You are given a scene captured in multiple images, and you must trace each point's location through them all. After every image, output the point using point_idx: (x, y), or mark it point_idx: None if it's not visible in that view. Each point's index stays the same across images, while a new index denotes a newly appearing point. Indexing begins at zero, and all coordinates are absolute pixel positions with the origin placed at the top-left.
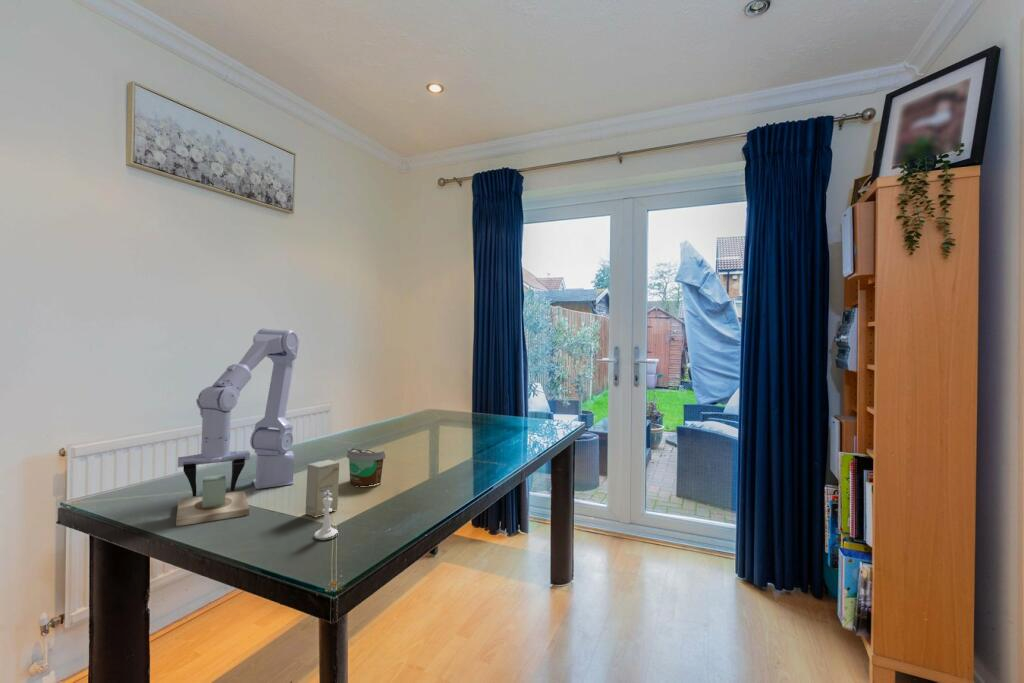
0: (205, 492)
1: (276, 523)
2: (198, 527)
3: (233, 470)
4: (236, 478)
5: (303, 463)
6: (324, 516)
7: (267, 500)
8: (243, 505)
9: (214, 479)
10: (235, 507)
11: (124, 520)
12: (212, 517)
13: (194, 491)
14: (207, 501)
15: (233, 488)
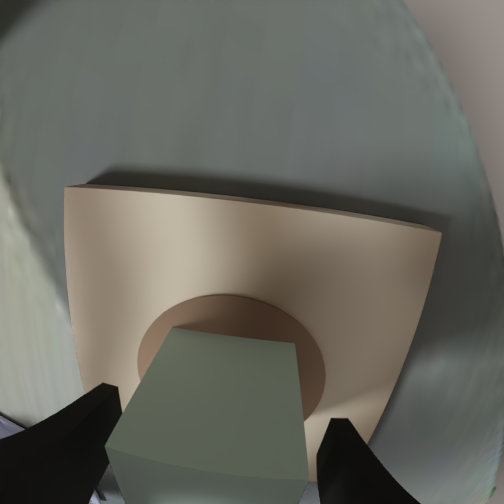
0: (284, 408)
1: (35, 28)
2: (339, 138)
3: (14, 482)
4: (40, 427)
5: None
6: None
7: (26, 331)
8: (85, 259)
9: (204, 497)
10: (123, 250)
11: (500, 390)
12: (259, 200)
13: (352, 438)
14: (268, 359)
15: (95, 392)
